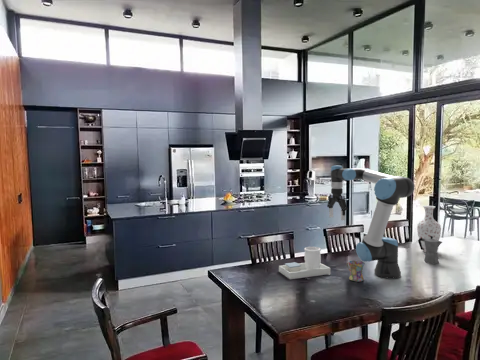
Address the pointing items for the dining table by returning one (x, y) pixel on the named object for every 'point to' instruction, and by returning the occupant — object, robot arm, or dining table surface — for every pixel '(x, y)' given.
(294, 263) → the lid
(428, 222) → the vase
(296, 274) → the white rectangular tray
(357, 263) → the candy bag
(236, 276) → the dining table surface
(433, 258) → the coffeepot
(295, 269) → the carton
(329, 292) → the dining table surface
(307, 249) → the jar
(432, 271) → the dining table surface
